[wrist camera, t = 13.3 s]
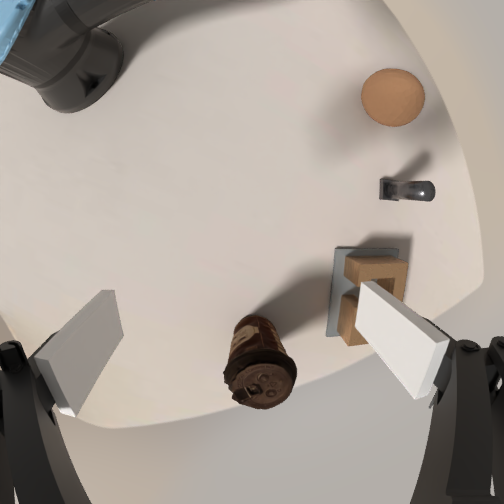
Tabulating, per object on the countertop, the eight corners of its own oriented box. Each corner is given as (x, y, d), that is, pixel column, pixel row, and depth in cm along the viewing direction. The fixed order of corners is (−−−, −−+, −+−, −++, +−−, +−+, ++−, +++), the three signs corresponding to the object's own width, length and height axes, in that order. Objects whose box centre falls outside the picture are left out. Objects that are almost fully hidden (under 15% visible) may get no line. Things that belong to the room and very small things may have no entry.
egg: (345, 117, 34) (383, 94, 23) (356, 75, 33) (391, 44, 22) (391, 141, 35) (436, 129, 24) (399, 98, 34) (441, 78, 23)
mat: (335, 248, 38) (336, 249, 37) (396, 248, 39) (398, 249, 38) (325, 335, 41) (326, 337, 40) (383, 328, 41) (385, 330, 41)
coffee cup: (218, 349, 40) (214, 406, 27) (232, 302, 38) (233, 350, 26) (271, 360, 41) (285, 417, 28) (289, 316, 40) (312, 365, 27)
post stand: (379, 179, 36) (419, 177, 26) (395, 181, 36) (436, 180, 27) (379, 199, 37) (419, 202, 27) (395, 200, 37) (436, 204, 27)
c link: (345, 255, 38) (360, 264, 33) (390, 255, 38) (408, 263, 33) (336, 330, 40) (348, 346, 35) (379, 325, 41) (393, 339, 36)
